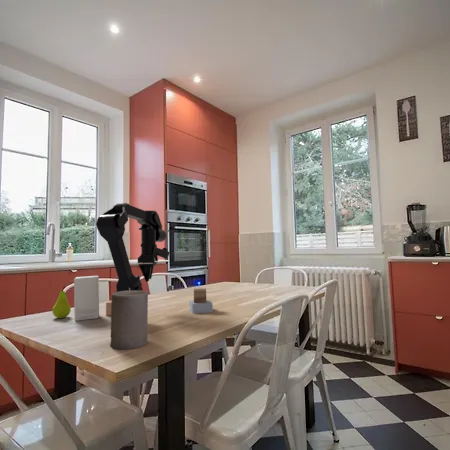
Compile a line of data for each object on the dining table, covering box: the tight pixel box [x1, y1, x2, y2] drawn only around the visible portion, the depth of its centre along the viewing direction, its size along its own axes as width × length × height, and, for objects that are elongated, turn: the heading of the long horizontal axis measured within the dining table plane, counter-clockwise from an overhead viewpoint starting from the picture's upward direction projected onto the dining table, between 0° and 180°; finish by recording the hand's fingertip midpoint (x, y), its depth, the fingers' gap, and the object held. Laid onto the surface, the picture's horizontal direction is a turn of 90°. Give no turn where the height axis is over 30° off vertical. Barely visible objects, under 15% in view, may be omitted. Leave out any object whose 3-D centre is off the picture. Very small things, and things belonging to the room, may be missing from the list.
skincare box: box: [73, 275, 100, 322], centre depth 116 cm, size 8×7×16 cm
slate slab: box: [189, 299, 214, 314], centre depth 125 cm, size 8×8×4 cm
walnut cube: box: [193, 287, 207, 303], centre depth 125 cm, size 5×5×5 cm
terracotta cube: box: [104, 300, 111, 317], centre depth 122 cm, size 5×5×5 cm
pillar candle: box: [109, 288, 149, 350], centre depth 83 cm, size 10×10×15 cm
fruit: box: [51, 285, 72, 319], centre depth 117 cm, size 6×6×12 cm
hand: (148, 280), depth 123 cm, fingers open, 9 cm apart
